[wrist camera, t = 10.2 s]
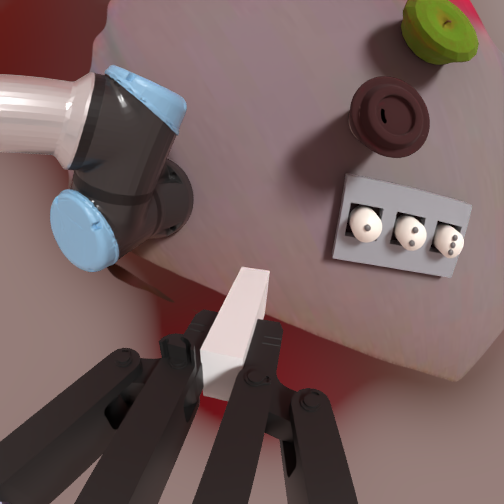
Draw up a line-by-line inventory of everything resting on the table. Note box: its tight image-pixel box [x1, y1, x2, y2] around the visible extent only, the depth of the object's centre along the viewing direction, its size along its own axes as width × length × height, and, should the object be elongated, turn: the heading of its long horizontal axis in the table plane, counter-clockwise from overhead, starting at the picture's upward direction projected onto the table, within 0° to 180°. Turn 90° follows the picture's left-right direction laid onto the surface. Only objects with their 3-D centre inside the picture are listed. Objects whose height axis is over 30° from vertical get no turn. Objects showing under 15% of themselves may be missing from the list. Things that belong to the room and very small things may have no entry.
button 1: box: [349, 205, 382, 243], centre depth 41 cm, size 5×5×5 cm
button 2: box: [393, 214, 426, 251], centre depth 40 cm, size 5×5×5 cm
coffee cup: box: [349, 76, 430, 158], centre depth 31 cm, size 10×10×15 cm
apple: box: [401, 0, 479, 65], centre depth 24 cm, size 12×12×11 cm
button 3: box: [432, 223, 464, 258], centre depth 39 cm, size 5×5×5 cm
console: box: [332, 173, 472, 278], centre depth 42 cm, size 24×14×2 cm, turn 85°
